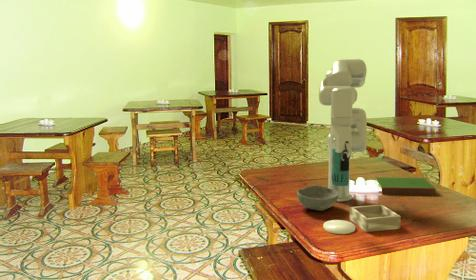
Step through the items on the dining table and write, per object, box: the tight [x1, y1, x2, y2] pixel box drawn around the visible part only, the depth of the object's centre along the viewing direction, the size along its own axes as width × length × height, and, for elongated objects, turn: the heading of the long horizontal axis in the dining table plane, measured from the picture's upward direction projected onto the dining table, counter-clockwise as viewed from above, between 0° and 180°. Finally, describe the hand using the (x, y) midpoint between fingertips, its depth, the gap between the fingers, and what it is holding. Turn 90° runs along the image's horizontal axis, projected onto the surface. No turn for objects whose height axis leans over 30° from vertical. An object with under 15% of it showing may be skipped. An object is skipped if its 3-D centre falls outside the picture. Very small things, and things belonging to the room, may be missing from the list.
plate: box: [322, 219, 356, 235], centre depth 163 cm, size 12×12×1 cm
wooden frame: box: [349, 204, 402, 233], centre depth 167 cm, size 14×14×5 cm
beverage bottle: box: [331, 147, 350, 186], centre depth 159 cm, size 6×7×20 cm
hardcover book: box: [375, 176, 436, 196], centre depth 211 cm, size 25×19×4 cm
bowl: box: [296, 184, 338, 212], centre depth 185 cm, size 18×18×8 cm
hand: (340, 168), depth 159 cm, fingers closed on beverage bottle, 6 cm apart
